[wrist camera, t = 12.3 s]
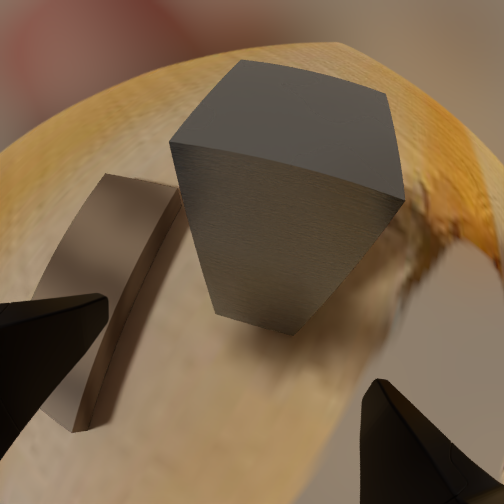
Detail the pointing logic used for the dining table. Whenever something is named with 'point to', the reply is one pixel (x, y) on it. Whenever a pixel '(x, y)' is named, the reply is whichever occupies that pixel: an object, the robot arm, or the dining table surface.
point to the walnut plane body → (105, 276)
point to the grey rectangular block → (285, 188)
